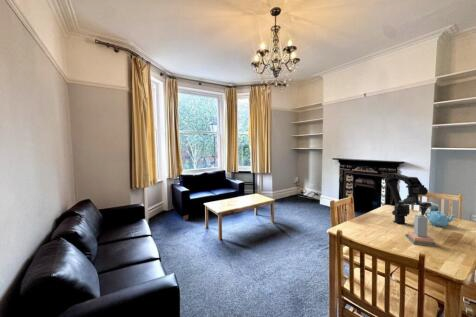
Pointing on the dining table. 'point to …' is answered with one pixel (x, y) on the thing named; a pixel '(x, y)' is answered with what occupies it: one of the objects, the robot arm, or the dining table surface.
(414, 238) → the pinkish brown square block
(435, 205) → the light bulb box
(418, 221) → the column brick
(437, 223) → the teapot
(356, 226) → the dining table surface
